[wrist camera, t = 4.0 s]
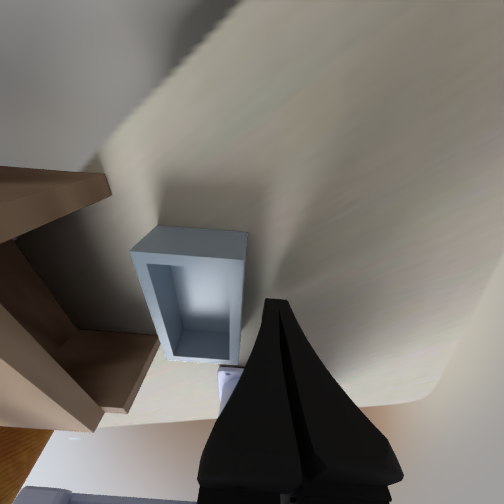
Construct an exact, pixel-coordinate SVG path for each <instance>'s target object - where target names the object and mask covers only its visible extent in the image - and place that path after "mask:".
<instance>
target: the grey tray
mask: <svg viewBox="0 0 504 504" xmlns="http://www.w3.org/2000/svg"><path fill="white" fill-rule="evenodd" d="M247 233H248V232H238V231H226V230H213V229H200V228H188V227H175V226H163V225H157V226H156V227H155V228H154V229H153V230H152V231H151V232H149V233H148V234H147V235H146V236H145V237H144V238H143V239H142V240H141V241H140V242H139V243H137V244H136V245H135V246H134V247H133V248H132V249H131V250H130V251H129V253H130V255H131V258H132V261H133V264H134V267H135V270H136V273H137V276H138V279H139V282H140V285H141V288H142V291H143V293H144V296H145V299H146V302H147V305H148V308H149V311H150V314H151V317H152V320H153V323H154V326H155V329H156V331H157V334H158V337H159V340H160V343H161V346H162V349H163V352H164V355H165V358H166V360H173V361H186V362H199V363H213V364H226V365H238V361H239V351H240V340H241V329H242V313H243V297H244V281H245V265H246V249H247Z"/></svg>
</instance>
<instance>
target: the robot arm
mask: <svg viewBox="0 0 504 504" xmlns="http://www.w3.org/2000/svg"><path fill="white" fill-rule="evenodd" d="M218 385H219V401H220V409H219V416H218V419H217V421H216V422H215V425H214V427H213V429H212V432H211V434H210V436H209V439H208V441H207V443H206V445H205V448H204V450H203V453H202V456H201V460H200V465H199V471H198V477H197V480H198V482H199V485H200V488H199V494H198V500H197V502H190V501H189V502H188V501H176V500H162V499H148V498H135V497H119V496H107V495H93V494H79V493H72V491H69V490H65V489H59V488H48V487H34V486H26V487H24V488H23V489H22V490H21V491H20V493H19V494H18V496H17V497H16V499H15V500H14V502H13V503H12V504H389V502H391V501H392V498H391V495H390V492H389V490H388V487H387V486H388V485H391V484H394V483H397V482H399V481H401V480H402V479H403V477H404V474H403V472H402V469H401V467H400V465H399V462H398V460H397V458H396V455H395V453H394V451H393V449H392V447H391V445H390V443H389V441H388V439H387V438H386V437H385V436H384V435H383V434H382V433H381V432H380V431H379V430H378V429H377V428H376V427H375V426H374V425H373V424H372V422H370V420H369V419H368V418H367V417H366V416H365V415H364V414H363V413H362V411H361V410H360V409H359V408H358V407H357V406H356V405H355V403H354V402H353V401H352V400H351V399H350V398H349V396H348V395H347V394H346V393H345V392H344V390H343V389H342V388H341V387H340V385H339V384H338V383H337V382H336V380H335V379H334V378H333V377H332V375H331V374H330V373H329V371H328V370H327V369H326V367H325V366H324V364H323V363H322V362H321V360H320V359H319V357H318V356H317V354H316V353H315V351H314V350H313V348H312V346H311V345H310V343H309V341H308V340H307V338H306V336H305V335H304V333H303V331H302V329H301V327H300V326H299V324H298V322H297V320H296V318H295V316H294V314H293V311H292V309H291V307H290V305H289V302H288V301H287V300H281V299H269V298H267V299H265V302H264V308H263V314H262V323H261V327H260V330H259V333H258V336H257V339H256V342H255V345H254V347H253V350H252V352H251V355H250V357H249V359H248V362H247V364H246V366H245V368H231V367H220V368H219V369H218Z"/></svg>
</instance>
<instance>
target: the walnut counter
mask: <svg viewBox="0 0 504 504" xmlns="http://www.w3.org/2000/svg"><path fill="white" fill-rule="evenodd" d="M109 196H111V192H110V189H109V186H108V183H107V180H106V177H105V174H93V173H81V172H68V171H55V170H44V169H31V168H19V167H7V166H0V426H7V427H21V428H35V429H48V430H62V431H75V432H89V433H94V431H95V429H96V428H97V426H98V424H99V422H100V420H101V419H102V417H103V415H104V413H105V412H106V413H120V414H128V412H129V410H130V408H131V406H132V404H133V402H134V400H135V397H136V395H137V393H138V391H139V389H140V387H141V385H142V383H143V380H144V378H145V376H146V374H147V372H148V370H149V368H150V365H151V363H152V361H153V359H154V357H155V355H156V353H157V351H158V348H159V346H160V344H161V343H160V340H159V337H158V336H156V335H143V334H130V333H117V332H104V331H91V330H78V329H76V327H75V326H74V324H73V323H72V322H71V320H70V319H69V317H68V316H67V315H66V313H65V312H64V311H63V309H62V308H61V306H60V305H59V304H58V302H57V301H56V299H55V298H54V297H53V295H52V294H51V292H50V291H49V290H48V288H47V287H46V285H45V284H44V283H43V281H42V280H41V278H40V277H39V276H38V274H37V273H36V271H35V270H34V269H33V267H32V266H31V264H30V263H29V262H28V260H27V259H26V257H25V256H24V255H23V253H22V252H21V250H20V249H19V248H18V246H17V245H16V243H15V242H14V241H13V239H12V238H15V237H17V236H19V235H22V234H24V233H26V232H28V231H31V230H33V229H35V228H38V227H40V226H42V225H45V224H47V223H49V222H51V221H54V220H56V219H58V218H61V217H63V216H65V215H68V214H70V213H72V212H74V211H77V210H79V209H81V208H84V207H86V206H88V205H91V204H93V203H95V202H98V201H100V200H102V199H104V198H107V197H109Z"/></svg>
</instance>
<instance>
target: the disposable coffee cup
mask: <svg viewBox="0 0 504 504" xmlns="http://www.w3.org/2000/svg"><path fill="white" fill-rule="evenodd" d="M53 432H54V430H48V429H35V428H21V427H7V426H0V504H12V503H13V501H14V500H15V498H16V496H17V494H18V493H19V491H20V489H21V487H22V486H23V484H24V482H25V480H26V478H27V477H28V475H29V473H30V471H31V470H32V468H33V466H34V465H35V463H36V461H37V459H38V458H39V456H40V454H41V453H42V451H43V449H44V447H45V445H46V444H47V442H48V440H49V439H50V437H51V435H52V433H53Z"/></svg>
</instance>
